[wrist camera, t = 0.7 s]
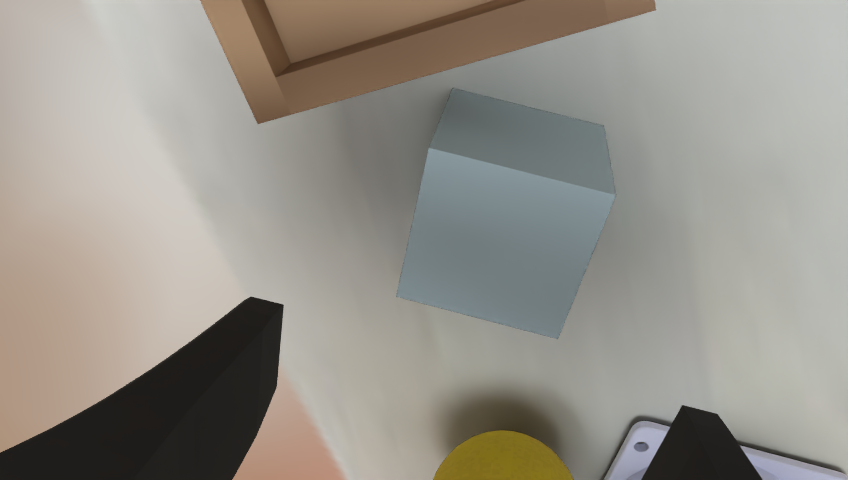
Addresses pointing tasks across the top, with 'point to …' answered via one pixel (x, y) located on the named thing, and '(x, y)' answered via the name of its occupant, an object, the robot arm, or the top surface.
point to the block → (507, 213)
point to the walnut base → (381, 41)
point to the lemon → (502, 459)
